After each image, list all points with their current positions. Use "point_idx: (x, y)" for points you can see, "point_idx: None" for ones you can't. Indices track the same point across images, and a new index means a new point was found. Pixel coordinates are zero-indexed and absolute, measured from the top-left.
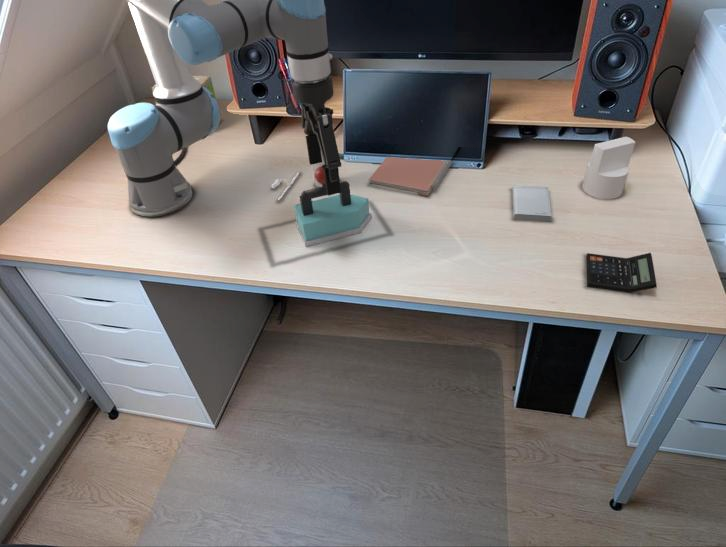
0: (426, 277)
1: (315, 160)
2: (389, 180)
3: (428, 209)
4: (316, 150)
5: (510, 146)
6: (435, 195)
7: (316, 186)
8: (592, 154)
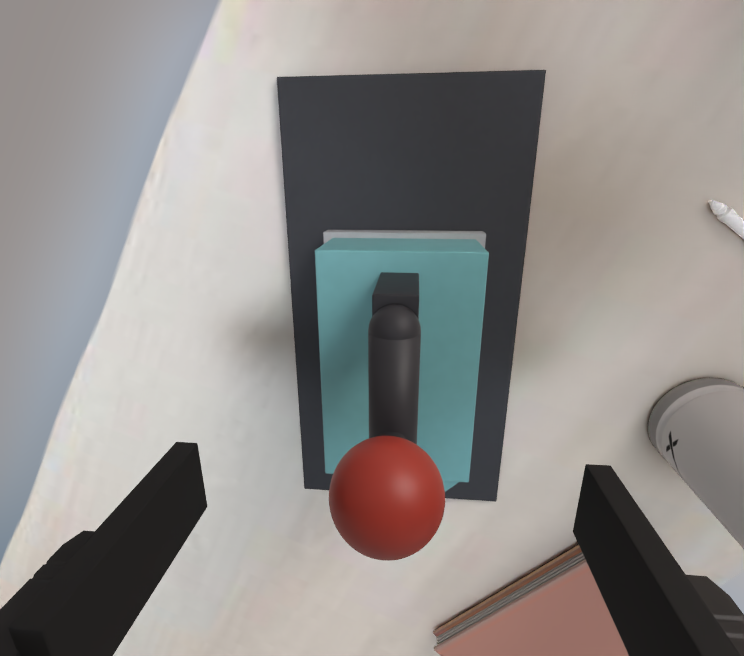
0: (107, 484)
1: (587, 514)
2: (553, 598)
3: (376, 604)
4: (617, 594)
5: None
6: (431, 644)
7: (704, 382)
8: None
